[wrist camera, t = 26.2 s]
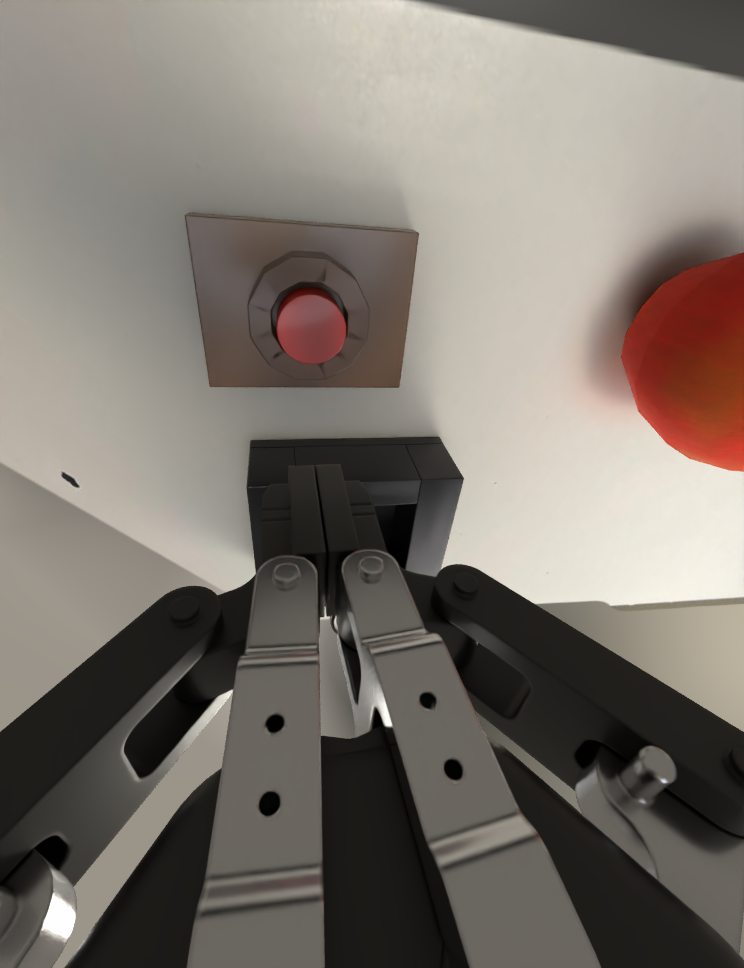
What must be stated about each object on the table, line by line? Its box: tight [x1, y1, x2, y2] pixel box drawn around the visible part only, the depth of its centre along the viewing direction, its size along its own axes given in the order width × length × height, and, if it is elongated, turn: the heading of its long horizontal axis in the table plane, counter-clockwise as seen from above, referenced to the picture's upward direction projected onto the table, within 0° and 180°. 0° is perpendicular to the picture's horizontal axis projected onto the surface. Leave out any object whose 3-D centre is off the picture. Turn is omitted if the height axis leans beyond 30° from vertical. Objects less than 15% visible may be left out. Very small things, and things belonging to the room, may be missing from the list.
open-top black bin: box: [247, 437, 464, 577], centre depth 33 cm, size 14×12×6 cm
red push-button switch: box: [185, 213, 419, 388], centre depth 25 cm, size 12×9×3 cm
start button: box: [277, 287, 346, 364], centre depth 23 cm, size 4×4×2 cm
